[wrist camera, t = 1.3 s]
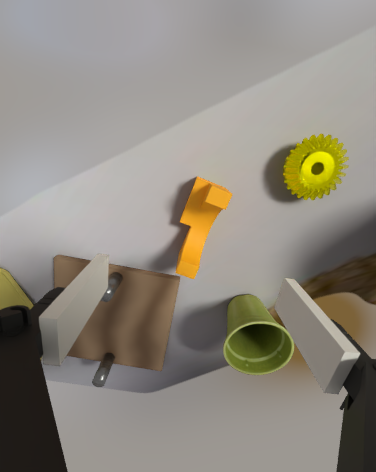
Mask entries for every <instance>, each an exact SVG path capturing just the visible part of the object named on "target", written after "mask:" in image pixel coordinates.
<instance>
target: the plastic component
mask: <svg viewBox="0 0 376 472" xmlns="http://www.w3.org/2000/svg"><path fill="white" fill-rule="evenodd" d="M15 305H24V306H27V307H28V308H29V309H31V308H32V307H33V306H34V305H33V304H32V303H31V301H30V300H29V299H28V297H27V296H26V295H25V293H24V292H23V291H22V289H21V288H20V287H19V285H18V284H17V283H16V281H15V280H14V279H13V277H12V276H11V275H10V273H9V272H8V271H6V270H4V269H2V268H0V310H1V309H3V308H6V307H9V306H15ZM41 359H42V357H41V358H40V360H41Z"/></svg>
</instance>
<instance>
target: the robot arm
mask: <svg viewBox="0 0 376 472" xmlns="http://www.w3.org/2000/svg"><path fill="white" fill-rule="evenodd" d="M108 266H109V255H104V254H97V255H96V256H95V258H94V259H93V260H92V261H91V262H90V263H89V264H88V265H87V266H86V267H85V268H84V269H83V270H82V271H81V272H80V274H79V275H78V276H77V277H76V278H75V279H74V280H73V281H72V282H71V283H70V284H69V285H68V286H67V287H66V288H64V287H57V288H55V289H53V290H51V291H49V292H48V293H47V294H46V295H45V296H44V297H43V298H42V299H41V300H40V301H39V302H38V303H36V304H35V305H34V306H33V307H32V308H31V309H29V308H28V307H27V306H24V305H15V306H9V307H6V308H3V309H1V310H0V472H67V467H66V463H65V459H64V455H63V451H62V447H61V443H60V439H59V434H58V430H57V426H56V422H55V418H54V414H53V410H52V405H51V401H50V397H49V393H48V389H47V385H46V380H45V376H44V372H43V368H42V364H41V360H40V358H41V357H42V355H43V364H45V365H55V366H60V365H61V364H62V362H63V360H64V359H65V357H66V355H67V354H68V352H69V350H70V349H71V347H72V346H73V344H74V342H75V341H76V339H77V337H78V336H79V334H80V332H81V331H82V329H83V328H84V326H85V324H86V323H87V321H88V319H89V318H90V316H91V315H92V313H93V311H94V310H95V308H96V306H97V305H98V303H99V301H100V300H101V298H102V297H103V295H104V293H105V292H106V290H107V288H108ZM274 308H275V310H276V312H277V313H278V315H279V317H280V319H281V320H282V322H283V324H284V325H285V327H286V329H287V331H288V332H289V334H290V336H291V337H292V339H293V341H294V343H295V344H296V346H297V348H298V349H299V351H300V353H301V354H302V356H303V358H304V360H305V361H306V363H307V365H308V366H309V368H310V370H311V371H312V373H313V375H314V377H315V378H316V380H317V382H318V383H319V385H320V387H321V389H322V390H323V392H324V393H331V394H339V392H340V390H341V388H342V387H343V386H344V387H345V389H346V390H347V392H348V395H347V396H346V398H345V400H344V402H343V403H342V405H341V407H340V409H341V410H343V408H344V414H343V423H342V431H341V440H340V447H339V456H338V464H337V472H376V359H371V358H370V357H369V356H368V355H367V353H366V352H365V351H364V350H363V349H362V348H361V347H360V346H359V345H358V344H357V343H356V342H355V341H354V340H353V339H352V337H351V336H350V335H349V334H347V332H346V331H345V330H344V329H343V327H342V326H341V325H339V324H338V323H337V322H335V321H334V320H332V319H329V318H328V317H327V315H326V314H325V313H324V312H323V311H322V310H321V309H320V308H319V306H318V305H317V304H316V303H315V302H314V301H313V300H312V299H311V297H310V296H309V295H308V294H307V293H306V292H305V291H304V290H303V288H302V287H301V286H300V285H299V284H298V283H297V282H296V281H295V280H294V279H289V278H284V281H283V284H282V287H281V290H280V293H279V296H278V298H277V301H276V304H275V307H274Z"/></svg>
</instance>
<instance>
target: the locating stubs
mask: <svg viewBox="0 0 376 472" xmlns="http://www.w3.org/2000/svg"><path fill="white" fill-rule="evenodd" d="M122 280H123V276H122V275H121V274H120V273H119V272H113V273H112V274H111V275H110V277H109V278H108V288H107V290H106V292H105V293H104V295H103V297H102V298H101V301H103V302H108V301H110V300H111V298H112V297H113V295H114V293H115V292H116V290H117V288H118V287H119V285H120V283H121V282H122ZM114 359H115V356H114V354H112V353H106V354H105V355H104V357H103V359H102V361H101V363H100V366H99V368H98V370H97V372H96V374H95V376H94V379H93V381H92V383H93V385H94V386H96V387H102V386H104V384H105V381H106V379H107V376H108V374H109V371H110V369H111V366H112V364H113V362H114Z"/></svg>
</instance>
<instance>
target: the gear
mask: <svg viewBox="0 0 376 472" xmlns="http://www.w3.org/2000/svg"><path fill="white" fill-rule="evenodd" d="M337 143H338V138H334V139H333V140H331V135H328V136H326V137H325V138H324V135H323V134H320V135H319V136H318V137H317V138H316V136H315V135H312V136H311V137H310V139H309V140H308V139H307V138H304V139H303V141H302V144H299V143H297V144H296V148H295V149H294V150H293V149H292V150H291V151H290V154H289V156H288V157H287V158H286V161H285V163H284V167H283V176H284V179H285V180H284V183H287V184H288V185H287V189H288V190H289V189H291V194H293V195H294V194H295V193H296V194H297V198H301V197H302V196H303V198H304V200H307V199H308V198H309V197H310V199H311V200H315V198H316V196H317V197H318V198H320V199H321V198H322V197H323V194H326V195H329V194H330V189H331V190H336V184H335V183H337V184H341V183H342V181H341V180H340V179H339V177H343V176H346V174H345V173H343V172H341V170H342V169H346V168H348V165H344V164H342V163H344V162H346V161H347V160H349V157H343V156H344V155H345V154H346V152H347V150H346V149H345V150H342V147H343V145H344V144H343V143H339V144H337ZM311 168H312V169H311Z"/></svg>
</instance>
